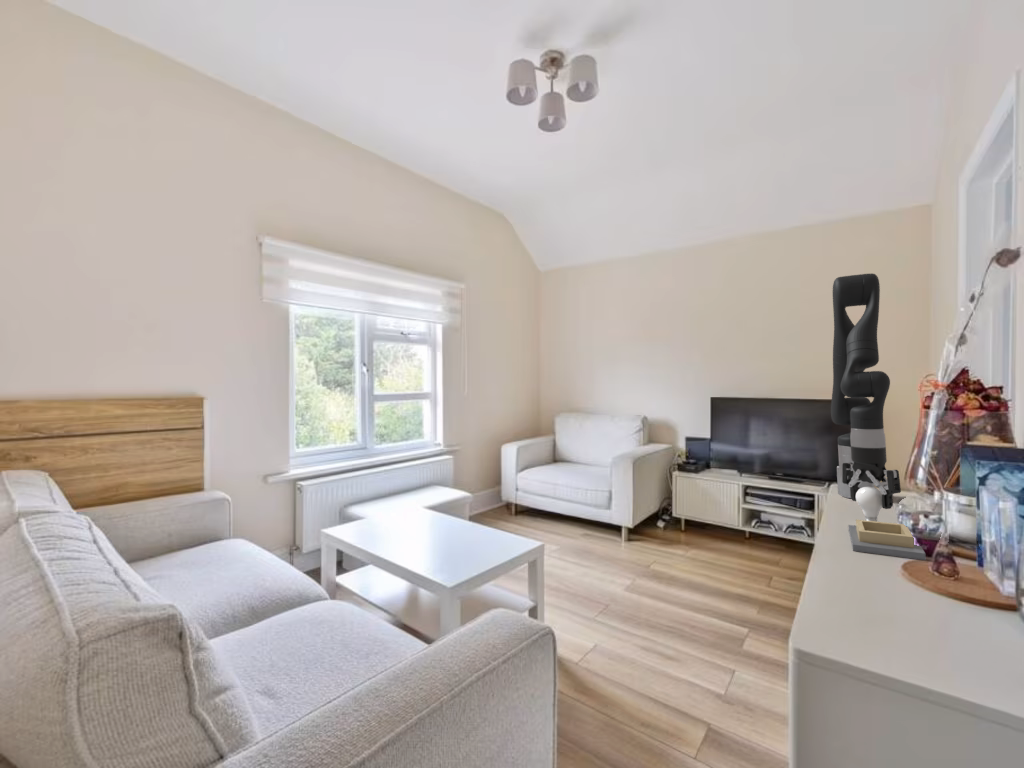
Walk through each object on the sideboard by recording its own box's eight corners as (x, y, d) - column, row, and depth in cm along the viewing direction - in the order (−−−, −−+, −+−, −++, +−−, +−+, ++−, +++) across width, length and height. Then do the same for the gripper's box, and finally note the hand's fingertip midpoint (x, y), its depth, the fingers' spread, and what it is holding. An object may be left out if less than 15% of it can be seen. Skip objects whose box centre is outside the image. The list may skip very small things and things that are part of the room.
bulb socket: (848, 530, 122) (847, 515, 122) (912, 537, 115) (911, 521, 115) (853, 550, 108) (852, 534, 108) (925, 560, 101) (924, 542, 101)
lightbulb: (862, 530, 121) (860, 489, 121) (852, 522, 127) (850, 483, 127) (891, 531, 119) (889, 489, 119) (879, 523, 126) (877, 484, 125)
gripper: (906, 447, 117) (909, 509, 117) (854, 441, 131) (857, 497, 131) (882, 449, 115) (886, 512, 115) (832, 442, 129) (835, 499, 129)
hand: (871, 504), depth 123 cm, fingers open, 8 cm apart
